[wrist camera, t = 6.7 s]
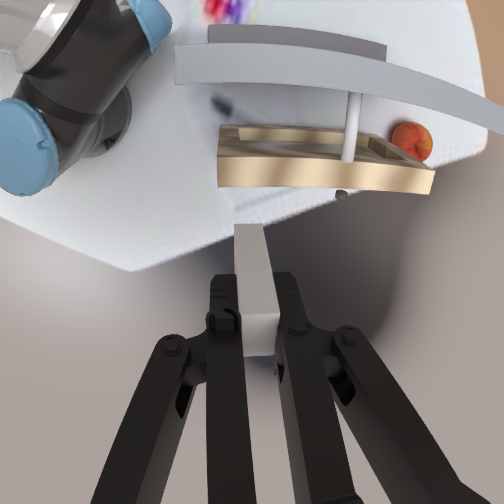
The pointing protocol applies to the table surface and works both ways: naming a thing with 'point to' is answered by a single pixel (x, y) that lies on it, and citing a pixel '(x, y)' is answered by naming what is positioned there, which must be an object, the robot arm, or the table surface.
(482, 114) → the panel
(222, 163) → the frame
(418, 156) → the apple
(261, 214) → the table surface
